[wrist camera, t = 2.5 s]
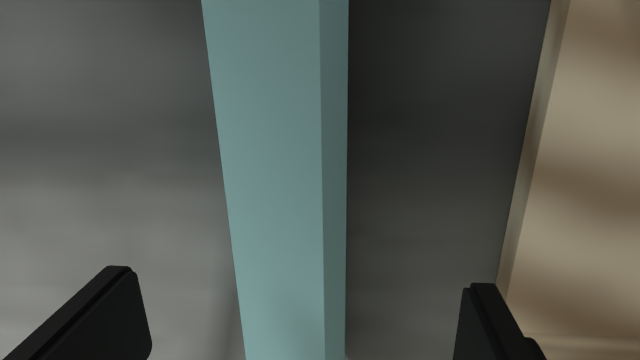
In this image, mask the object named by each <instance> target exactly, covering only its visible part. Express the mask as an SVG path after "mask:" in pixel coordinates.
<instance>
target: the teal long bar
mask: <svg viewBox="0 0 640 360" xmlns="http://www.w3.org/2000/svg"><path fill="white" fill-rule="evenodd" d="M201 3H202V11H203V19H204V27H205V34H206V42H207V50H208V58H209V66H210V74H211V82H212V90H213V98H214V106H215V114H216V122H217V130H218V138H219V146H220V154H221V162H222V170H223V178H224V186H225V194H226V202H227V210H228V218H229V226H230V234H231V242H232V250H233V258H234V266H235V274H236V282H237V290H238V298H239V306H240V314H241V322H242V330H243V338H244V346H245V354H246V360H349V359H348V357H347V356H346V355H345V289H346V196H347V104H348V11H349V0H201Z"/></svg>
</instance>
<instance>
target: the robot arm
mask: <svg viewBox="0 0 640 360" xmlns="http://www.w3.org/2000/svg"><path fill="white" fill-rule="evenodd" d="M151 349H152V340H151V336H150V331H149V327H148V322H147V318H146V313H145V309H144V304H143V300H142V295H141V291H140V286H139V282H138V277H137V274H136V273H135V272H133V271H132V269H131V268H130V267H128V266H107V267H105V268H104V269H103V270H102V271H101V272H100V273H98V274H97V275H96V276H95V277H94V278H93V279H92V280H91V281H90V282H88V283H87V284H86V285H85V286H84V287H83V288H82V289H81V290H80V291H78V292H77V293H76V294H75V295H74V296H73V297H72V298H71V299H70V300H68V301H67V302H66V303H65V304H64V305H63V306H62V307H61V308H59V309H58V310H57V311H56V312H55V313H54V314H53V315H52V316H51V317H49V318H48V319H47V320H46V321H45V322H44V323H43V324H42V325H41V326H39V327H38V328H37V329H36V330H35V331H34V332H33V333H32V334H31V335H29V336H28V337H27V338H26V339H25V340H24V341H23V342H22V343H21V344H19V345H18V346H17V347H16V348H15V349H14V350H13V351H12V352H10V353H9V354H8V355H7V356H6V357H5V358H4V359H3V360H147V358H148V357H149V355H150V352H151ZM453 360H547V358H546V357H545V355H544V353H543V352H542V350H541V348H540V346H539V345H538V343H537V342H536V341H535V340H534V339H533V338H531V337H524V335H523V333H522V331H521V330H520V328H519V326H518V324H517V322H516V320H515V319H514V317H513V315H512V313H511V311H510V310H509V308H508V306H507V304H506V302H505V301H504V299H503V297H502V295H501V293H500V292H499V290H498V288H497V286H496V285H495V284H493V283H471V285H470V288H464V289H463V293H462V300H461V307H460V314H459V320H458V327H457V334H456V341H455V348H454V355H453Z"/></svg>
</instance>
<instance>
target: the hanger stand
mask: <svg viewBox="0 0 640 360" xmlns="http://www.w3.org/2000/svg"><path fill="white" fill-rule="evenodd" d="M495 285H496V286H497V288H498V290H499V292H500V293H501V295H502V297H503V299H504V301H505V302H506V304H507V306H508V308H509V310H510V311H511V313H512V315H513V317H514V319H515V320H516V322H517V324H518V326H519V328H520V330H521V331H522V333H523V335H524V337H531V338H533V339H534V340H535V341H536V342H537V343H538V345H539V346H540V348H541V350H542V352H543V353H544V355H545V357H546V358H547V360H640V0H551V5H550V11H549V16H548V21H547V26H546V31H545V36H544V41H543V46H542V51H541V56H540V61H539V66H538V71H537V76H536V81H535V86H534V91H533V96H532V101H531V106H530V112H529V117H528V122H527V127H526V132H525V137H524V142H523V147H522V152H521V157H520V162H519V167H518V172H517V177H516V182H515V187H514V192H513V197H512V202H511V207H510V213H509V218H508V223H507V228H506V233H505V238H504V243H503V248H502V253H501V258H500V263H499V268H498V273H497V278H496V283H495Z"/></svg>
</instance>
